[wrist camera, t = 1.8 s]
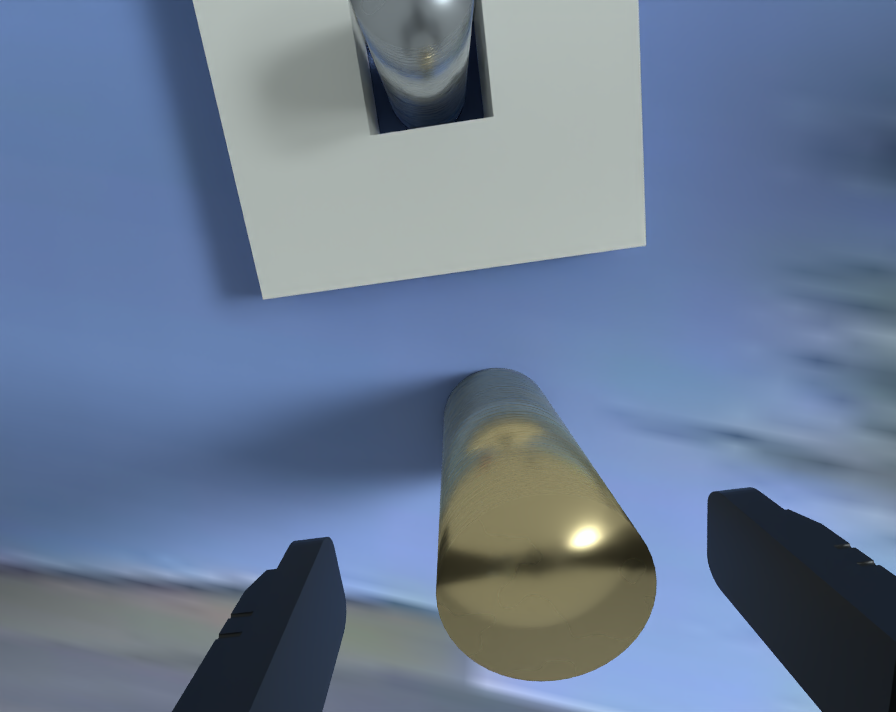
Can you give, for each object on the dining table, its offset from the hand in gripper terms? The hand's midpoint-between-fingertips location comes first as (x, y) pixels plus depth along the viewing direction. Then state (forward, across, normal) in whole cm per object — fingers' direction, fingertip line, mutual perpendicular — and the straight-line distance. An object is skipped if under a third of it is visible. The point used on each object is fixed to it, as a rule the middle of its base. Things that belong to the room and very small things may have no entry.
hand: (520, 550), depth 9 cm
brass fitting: (+8, 0, 0) cm, 8 cm away
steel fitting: (+8, +1, -12) cm, 14 cm away
